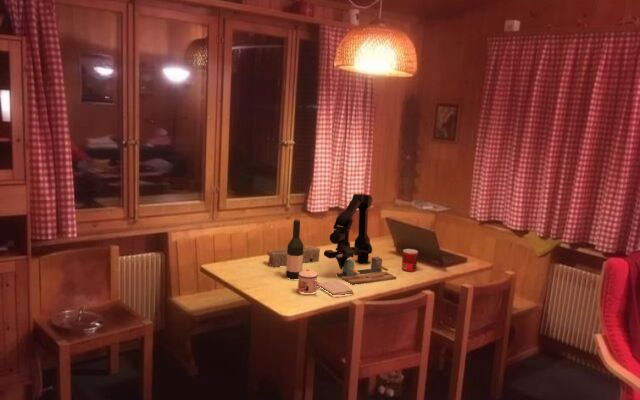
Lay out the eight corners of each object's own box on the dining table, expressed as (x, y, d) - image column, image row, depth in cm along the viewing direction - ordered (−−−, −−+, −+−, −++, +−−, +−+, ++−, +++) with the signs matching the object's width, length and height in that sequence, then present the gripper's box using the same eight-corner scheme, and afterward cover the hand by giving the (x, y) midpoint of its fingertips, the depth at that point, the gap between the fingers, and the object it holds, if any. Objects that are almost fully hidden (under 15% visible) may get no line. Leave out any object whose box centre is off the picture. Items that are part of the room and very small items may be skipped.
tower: (311, 259, 322) (265, 264, 306) (312, 245, 321) (266, 249, 304) (318, 263, 316) (273, 268, 299) (320, 248, 314) (274, 253, 298)
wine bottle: (305, 276, 289) (308, 219, 283) (297, 281, 281) (300, 222, 276) (290, 273, 292) (293, 216, 286) (282, 278, 285) (285, 219, 279)
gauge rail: (335, 275, 294) (336, 261, 293) (378, 269, 307) (379, 256, 306) (347, 282, 284) (348, 268, 282) (391, 276, 297) (392, 263, 296)
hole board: (342, 279, 288) (342, 276, 288) (385, 273, 301) (386, 271, 301) (352, 285, 280) (352, 282, 280) (396, 279, 294) (396, 276, 293)
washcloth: (334, 299, 262) (335, 293, 261) (313, 287, 276) (314, 281, 276) (355, 295, 268) (355, 289, 267) (334, 283, 283) (334, 277, 282)
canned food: (415, 273, 306) (417, 253, 303) (400, 271, 307) (402, 251, 305) (416, 269, 313) (418, 249, 311) (401, 267, 314) (403, 248, 312)
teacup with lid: (293, 291, 267) (294, 267, 265) (306, 287, 274) (307, 264, 272) (312, 298, 259) (313, 274, 257) (325, 294, 266) (326, 270, 264)
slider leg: (342, 273, 296) (343, 259, 295) (348, 272, 298) (349, 259, 297) (355, 281, 286) (356, 266, 284) (361, 280, 288) (362, 266, 286)
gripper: (335, 245, 278) (333, 275, 281) (367, 242, 287) (364, 271, 290) (324, 239, 288) (322, 268, 291) (355, 236, 297) (353, 265, 300)
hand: (341, 268), depth 293 cm, fingers closed
